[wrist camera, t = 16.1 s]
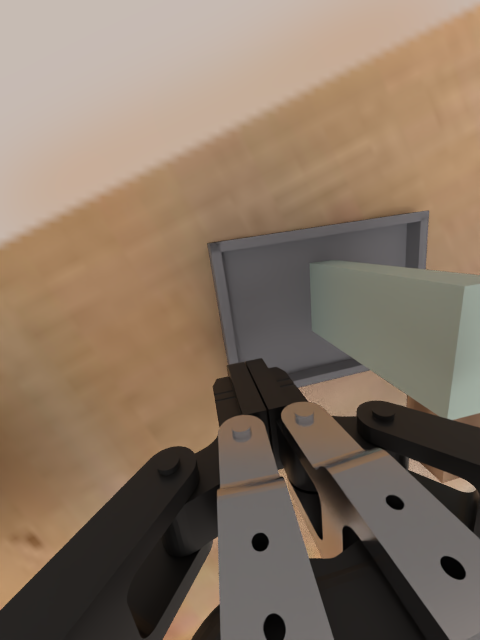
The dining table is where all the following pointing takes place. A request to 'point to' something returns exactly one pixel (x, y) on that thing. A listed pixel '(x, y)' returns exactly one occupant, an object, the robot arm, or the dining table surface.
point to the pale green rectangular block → (405, 328)
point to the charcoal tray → (301, 289)
